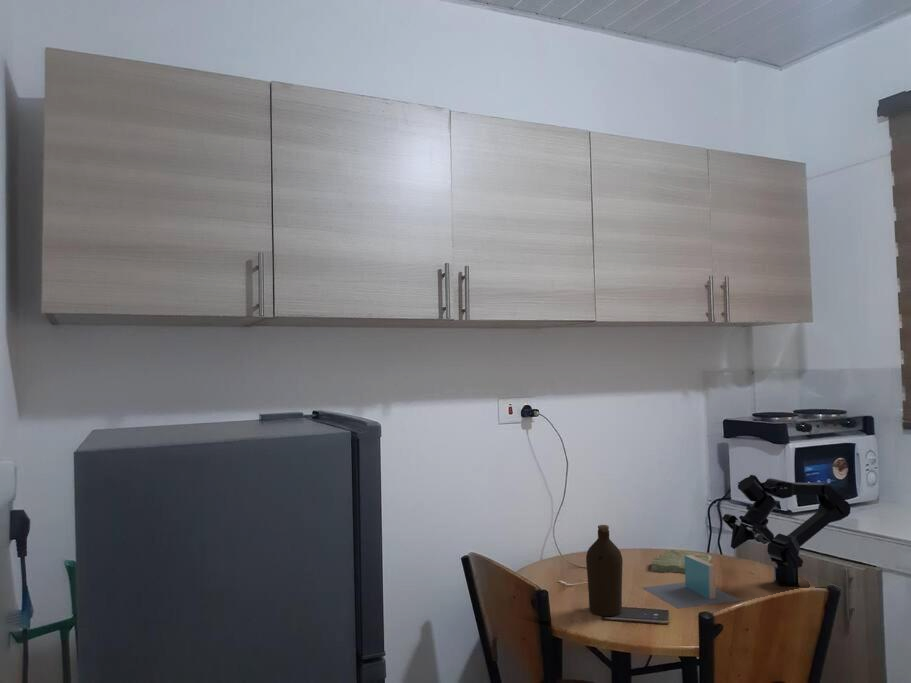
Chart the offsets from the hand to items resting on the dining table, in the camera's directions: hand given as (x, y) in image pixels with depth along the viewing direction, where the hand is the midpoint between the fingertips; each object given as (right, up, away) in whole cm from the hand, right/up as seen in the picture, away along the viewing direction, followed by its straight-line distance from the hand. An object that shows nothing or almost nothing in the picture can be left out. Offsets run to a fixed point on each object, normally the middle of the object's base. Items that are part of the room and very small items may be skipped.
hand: (732, 547), depth 219 cm
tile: (-12, -13, -4) cm, 18 cm away
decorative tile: (-8, -15, +26) cm, 31 cm away
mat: (-15, -13, -5) cm, 21 cm away
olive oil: (-44, -14, -17) cm, 49 cm away
